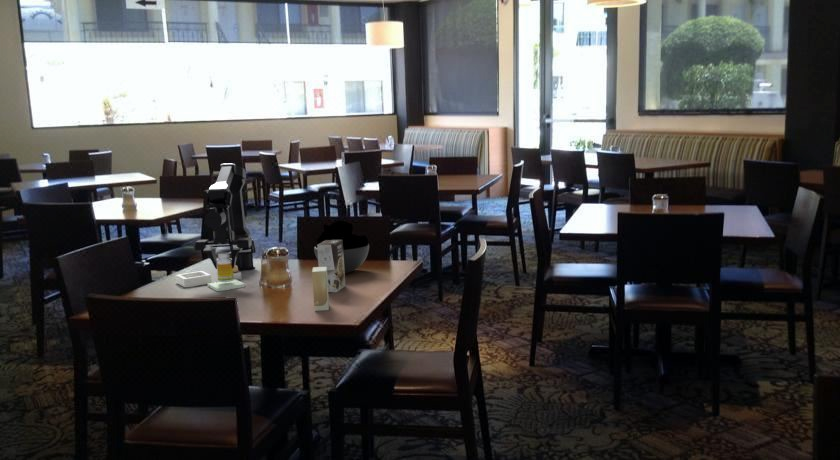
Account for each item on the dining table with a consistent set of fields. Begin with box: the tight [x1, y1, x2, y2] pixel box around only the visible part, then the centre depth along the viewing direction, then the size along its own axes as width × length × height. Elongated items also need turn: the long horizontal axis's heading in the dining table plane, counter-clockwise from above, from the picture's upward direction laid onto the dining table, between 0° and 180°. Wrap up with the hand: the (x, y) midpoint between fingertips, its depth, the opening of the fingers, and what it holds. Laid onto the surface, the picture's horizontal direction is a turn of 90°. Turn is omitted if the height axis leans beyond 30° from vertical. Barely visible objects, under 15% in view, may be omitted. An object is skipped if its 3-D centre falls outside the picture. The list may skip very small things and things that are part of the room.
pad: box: [207, 279, 246, 292], centre depth 264 cm, size 10×10×1 cm
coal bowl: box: [313, 220, 370, 274], centre depth 277 cm, size 20×20×19 cm
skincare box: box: [311, 266, 330, 312], centre depth 228 cm, size 6×4×12 cm
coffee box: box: [316, 240, 346, 293], centre depth 252 cm, size 9×6×16 cm
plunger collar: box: [216, 270, 242, 281], centre depth 276 cm, size 7×7×2 cm
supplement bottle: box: [216, 252, 234, 282], centre depth 263 cm, size 5×5×10 cm
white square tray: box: [175, 270, 213, 288], centre depth 272 cm, size 10×10×3 cm
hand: (225, 268), depth 263 cm, fingers open, 5 cm apart
